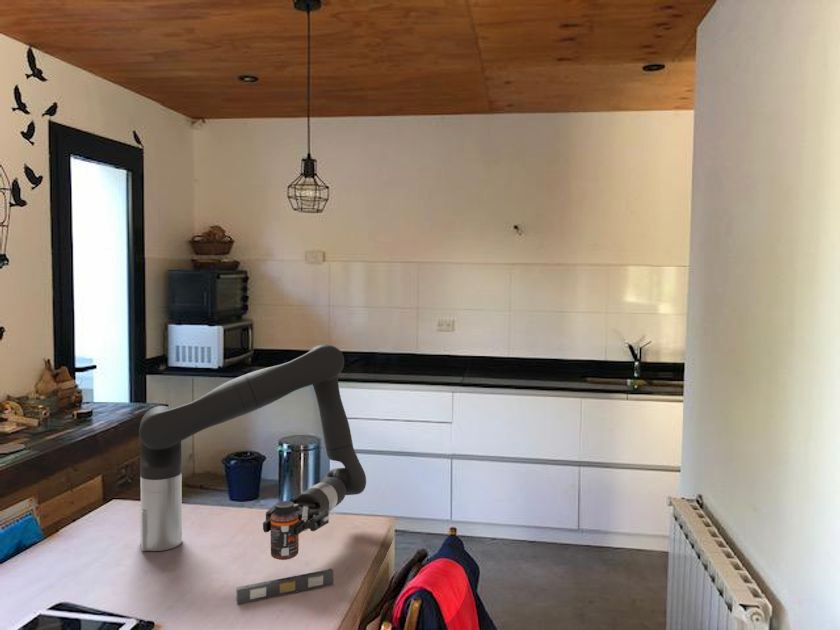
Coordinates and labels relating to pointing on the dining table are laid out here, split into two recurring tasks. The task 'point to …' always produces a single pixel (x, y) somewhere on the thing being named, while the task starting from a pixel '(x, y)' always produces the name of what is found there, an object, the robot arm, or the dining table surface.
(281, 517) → the supplement bottle
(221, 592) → the dining table surface
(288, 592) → the rail
